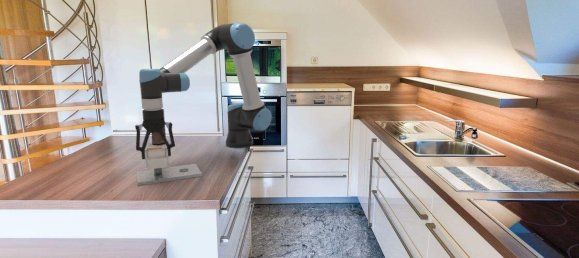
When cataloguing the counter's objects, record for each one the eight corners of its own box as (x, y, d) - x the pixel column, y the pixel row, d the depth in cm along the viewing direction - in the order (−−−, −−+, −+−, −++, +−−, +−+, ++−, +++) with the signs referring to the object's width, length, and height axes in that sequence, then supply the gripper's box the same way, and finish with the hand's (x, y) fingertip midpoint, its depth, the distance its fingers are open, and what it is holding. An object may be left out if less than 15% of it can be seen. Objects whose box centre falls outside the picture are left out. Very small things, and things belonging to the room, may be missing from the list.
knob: (165, 162, 137) (164, 144, 136) (167, 167, 131) (166, 148, 129) (147, 164, 134) (146, 146, 133) (148, 169, 128) (146, 150, 126)
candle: (161, 141, 190) (158, 107, 186) (169, 143, 186) (166, 108, 182) (149, 143, 184) (146, 108, 180) (157, 145, 180) (154, 109, 176)
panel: (195, 166, 147) (195, 157, 146) (201, 176, 134) (201, 166, 133) (136, 174, 136) (135, 164, 135) (137, 185, 124) (136, 175, 123)
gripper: (178, 106, 135) (181, 159, 140) (124, 109, 127) (129, 165, 132) (180, 108, 129) (184, 164, 133) (124, 112, 120) (130, 171, 125)
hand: (157, 165), depth 132 cm, fingers closed on knob, 7 cm apart
